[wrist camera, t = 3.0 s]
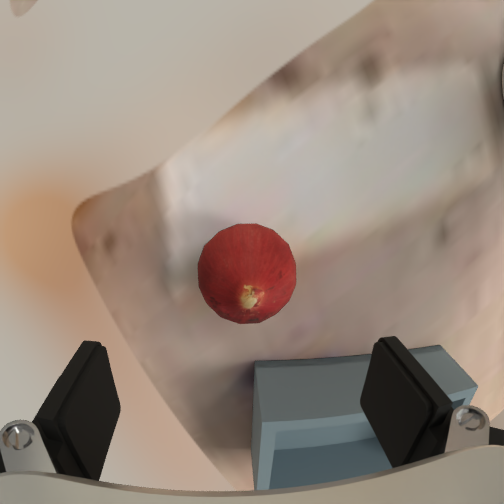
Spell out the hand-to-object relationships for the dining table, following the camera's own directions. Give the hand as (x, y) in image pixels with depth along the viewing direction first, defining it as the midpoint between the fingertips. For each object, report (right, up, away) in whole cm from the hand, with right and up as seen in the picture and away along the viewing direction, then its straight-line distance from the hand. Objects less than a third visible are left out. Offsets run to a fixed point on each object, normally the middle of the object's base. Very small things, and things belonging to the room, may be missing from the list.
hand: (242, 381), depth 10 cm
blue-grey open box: (+9, -10, +17) cm, 22 cm away
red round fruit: (0, +4, +13) cm, 13 cm away
